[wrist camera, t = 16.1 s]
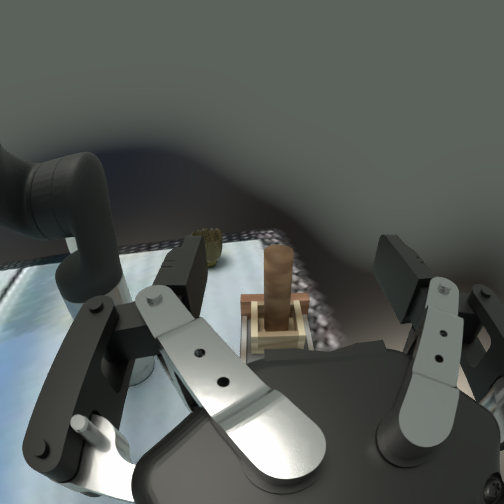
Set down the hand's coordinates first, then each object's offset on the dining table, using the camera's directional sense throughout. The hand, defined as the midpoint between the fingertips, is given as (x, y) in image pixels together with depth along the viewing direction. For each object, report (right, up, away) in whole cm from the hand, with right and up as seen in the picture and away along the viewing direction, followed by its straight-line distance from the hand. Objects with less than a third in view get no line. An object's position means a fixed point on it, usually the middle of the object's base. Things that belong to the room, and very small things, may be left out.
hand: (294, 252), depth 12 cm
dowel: (+2, -12, +32) cm, 35 cm away
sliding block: (+2, -14, +32) cm, 35 cm away
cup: (-12, -3, +54) cm, 56 cm away
